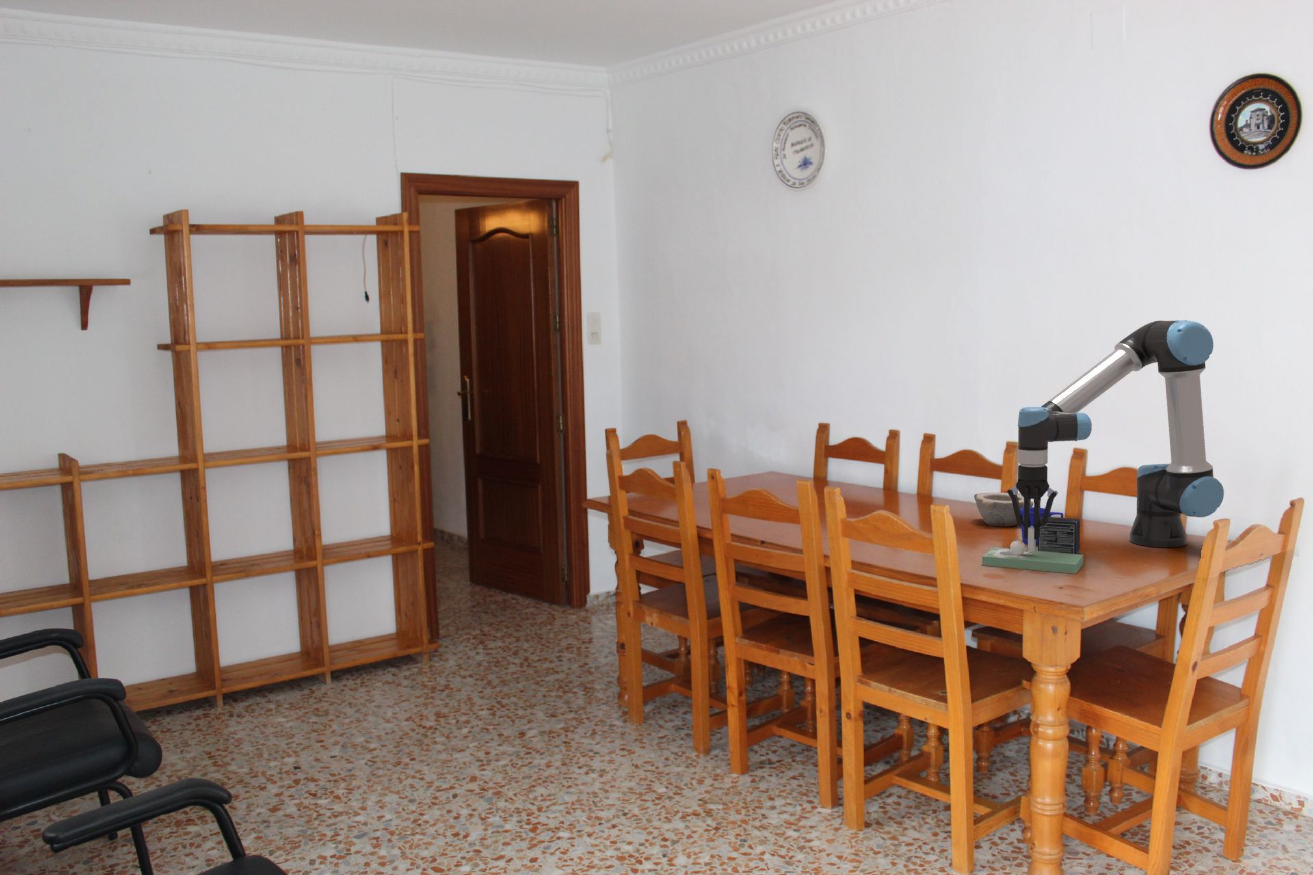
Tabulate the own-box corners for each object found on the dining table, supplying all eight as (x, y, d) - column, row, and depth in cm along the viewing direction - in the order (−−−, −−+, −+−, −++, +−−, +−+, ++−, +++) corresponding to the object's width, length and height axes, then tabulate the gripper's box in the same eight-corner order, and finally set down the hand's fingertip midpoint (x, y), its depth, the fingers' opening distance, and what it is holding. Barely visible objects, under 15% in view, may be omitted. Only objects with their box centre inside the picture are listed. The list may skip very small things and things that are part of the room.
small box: (1080, 554, 295) (1081, 517, 294) (1076, 559, 290) (1077, 522, 289) (1041, 551, 301) (1041, 515, 300) (1036, 556, 295) (1037, 519, 294)
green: (1083, 563, 285) (1083, 554, 284) (1075, 573, 274) (1075, 564, 274) (992, 555, 297) (992, 547, 297) (982, 565, 287) (982, 556, 286)
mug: (1065, 546, 306) (1065, 512, 304) (1021, 545, 308) (1022, 512, 307) (1060, 540, 314) (1061, 507, 312) (1018, 539, 316) (1018, 507, 315)
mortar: (1035, 529, 330) (1036, 500, 329) (979, 529, 332) (980, 500, 331) (1024, 519, 346) (1024, 491, 345) (971, 519, 349) (971, 491, 348)
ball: (1017, 556, 289) (1029, 548, 287) (1015, 559, 285) (1027, 551, 284) (1008, 544, 290) (1020, 536, 288) (1005, 547, 286) (1017, 538, 285)
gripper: (1060, 463, 282) (1059, 549, 285) (1010, 461, 289) (1009, 545, 292) (1055, 467, 276) (1054, 555, 279) (1004, 465, 283) (1003, 551, 285)
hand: (1031, 550), depth 285 cm, fingers closed
